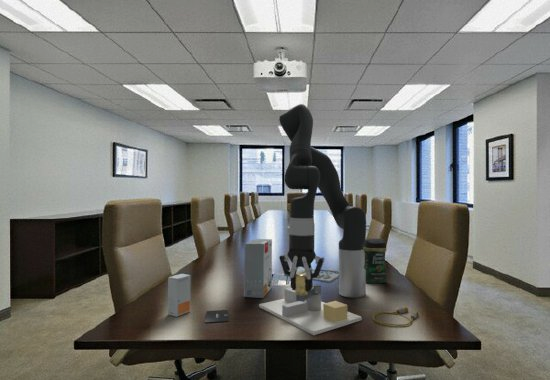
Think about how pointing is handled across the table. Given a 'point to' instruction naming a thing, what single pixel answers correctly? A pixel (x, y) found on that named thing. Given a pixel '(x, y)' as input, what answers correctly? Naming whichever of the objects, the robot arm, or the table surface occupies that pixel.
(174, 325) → the table surface
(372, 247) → the coffee jar
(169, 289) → the skincare box
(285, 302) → the base
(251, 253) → the hard drive box
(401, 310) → the extension cord
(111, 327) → the table surface
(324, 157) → the robot arm
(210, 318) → the solid state drive
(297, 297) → the bar
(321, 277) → the grey patterned tray
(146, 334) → the table surface
